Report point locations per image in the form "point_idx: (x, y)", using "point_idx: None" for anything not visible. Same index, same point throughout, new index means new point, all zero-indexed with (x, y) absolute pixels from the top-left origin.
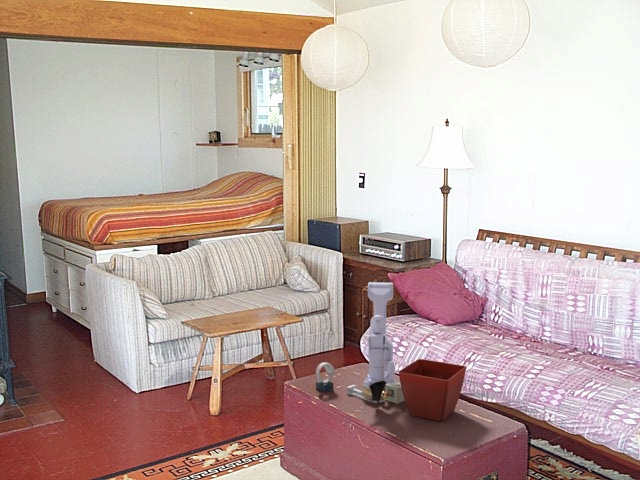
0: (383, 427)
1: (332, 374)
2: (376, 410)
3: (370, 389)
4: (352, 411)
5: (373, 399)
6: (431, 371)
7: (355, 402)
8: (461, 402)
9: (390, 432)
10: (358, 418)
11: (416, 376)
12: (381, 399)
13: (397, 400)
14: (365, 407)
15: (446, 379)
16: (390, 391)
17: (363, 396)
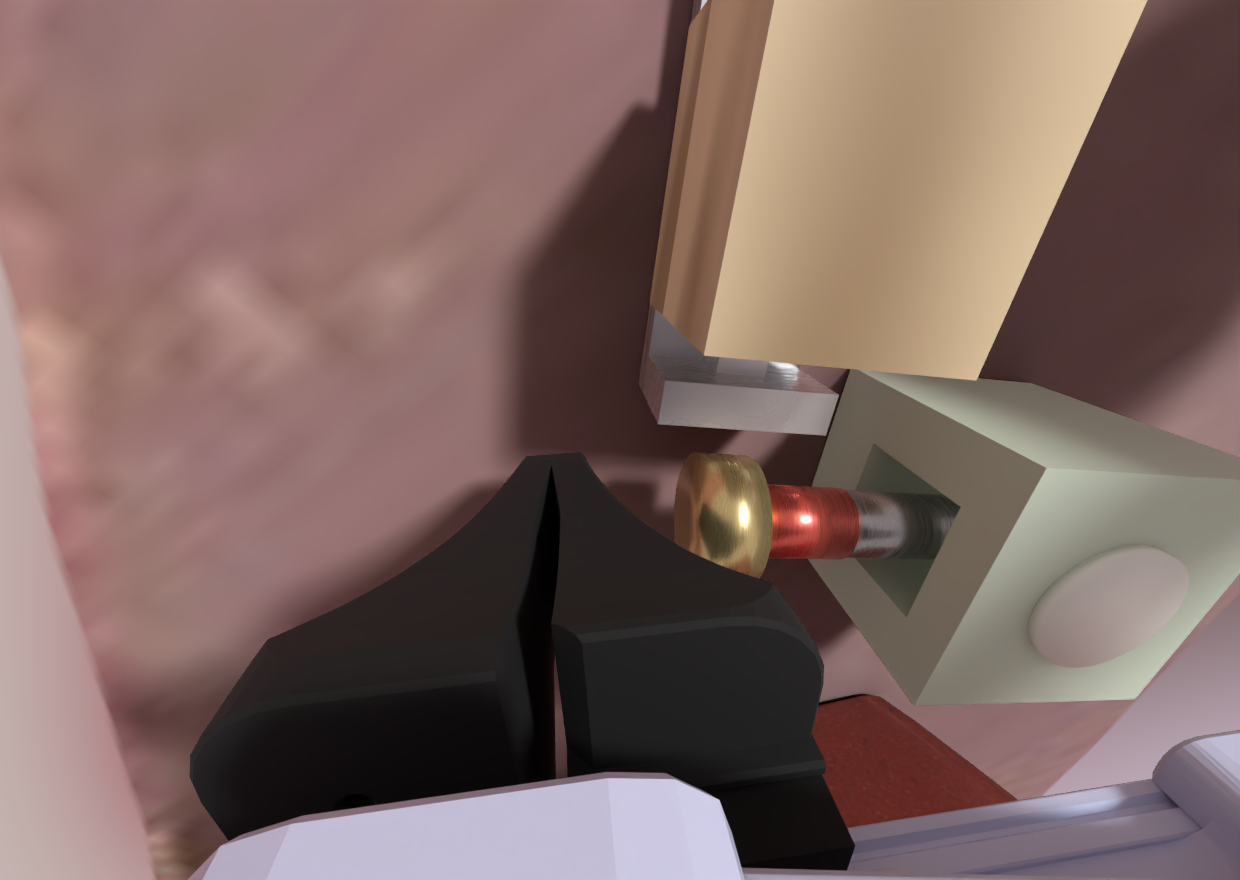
0: (187, 780)
1: None
2: (465, 506)
3: (418, 566)
4: (132, 287)
5: (520, 465)
6: None
7: (473, 39)
8: (1035, 793)
9: (173, 851)
10: (60, 513)
11: None
12: (680, 475)
13: (818, 563)
14: (432, 340)
15: None
16: (888, 549)
17: (684, 78)
